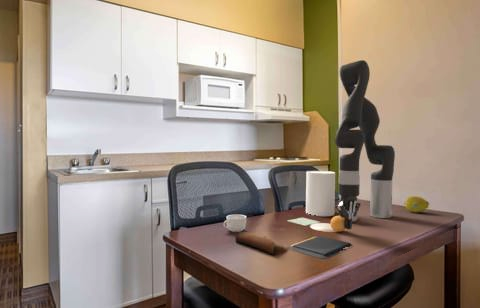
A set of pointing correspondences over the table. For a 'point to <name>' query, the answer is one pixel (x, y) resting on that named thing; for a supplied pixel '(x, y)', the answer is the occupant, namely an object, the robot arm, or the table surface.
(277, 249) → the sunglasses case
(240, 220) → the teacup
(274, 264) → the table surface
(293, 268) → the table surface
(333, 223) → the ball
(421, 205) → the lemon
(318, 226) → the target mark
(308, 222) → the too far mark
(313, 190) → the canister
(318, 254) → the wallet
